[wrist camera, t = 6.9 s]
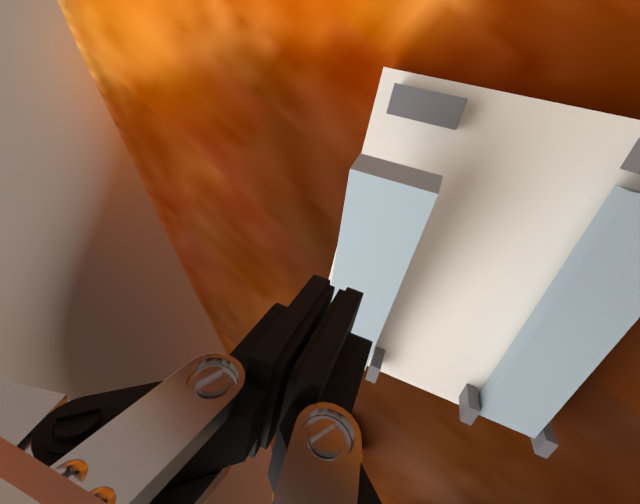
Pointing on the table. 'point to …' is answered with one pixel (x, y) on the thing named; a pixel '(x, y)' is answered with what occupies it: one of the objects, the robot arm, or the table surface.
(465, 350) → the board
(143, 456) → the robot arm
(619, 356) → the table surface
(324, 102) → the table surface
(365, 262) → the lever
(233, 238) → the table surface
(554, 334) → the lever
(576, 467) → the table surface
